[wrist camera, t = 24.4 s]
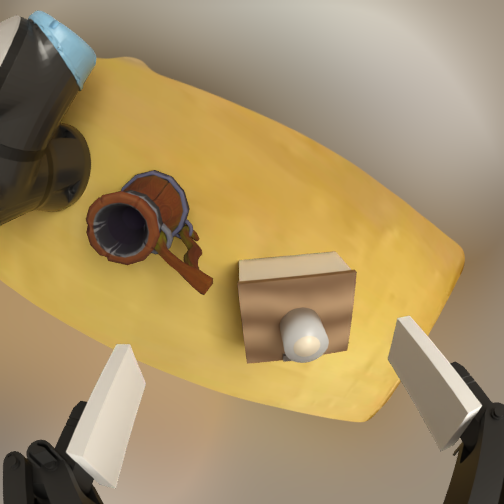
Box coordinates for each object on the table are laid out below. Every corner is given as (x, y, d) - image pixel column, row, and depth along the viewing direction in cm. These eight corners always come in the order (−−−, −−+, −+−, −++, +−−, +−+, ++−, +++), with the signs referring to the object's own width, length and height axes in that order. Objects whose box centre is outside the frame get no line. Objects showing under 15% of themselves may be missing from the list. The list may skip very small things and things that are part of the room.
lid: (237, 281, 38) (237, 286, 37) (354, 269, 38) (358, 273, 37) (246, 360, 44) (247, 366, 42) (345, 347, 44) (348, 352, 42)
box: (239, 260, 46) (239, 282, 39) (335, 251, 46) (352, 270, 39) (246, 331, 51) (248, 359, 44) (331, 321, 51) (344, 347, 44)
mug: (238, 221, 44) (239, 257, 30) (197, 276, 47) (182, 329, 33) (145, 155, 40) (101, 160, 26) (109, 215, 42) (62, 245, 28)
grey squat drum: (279, 309, 39) (284, 331, 35) (321, 305, 39) (330, 326, 35) (280, 342, 42) (284, 365, 37) (318, 337, 42) (326, 359, 37)
